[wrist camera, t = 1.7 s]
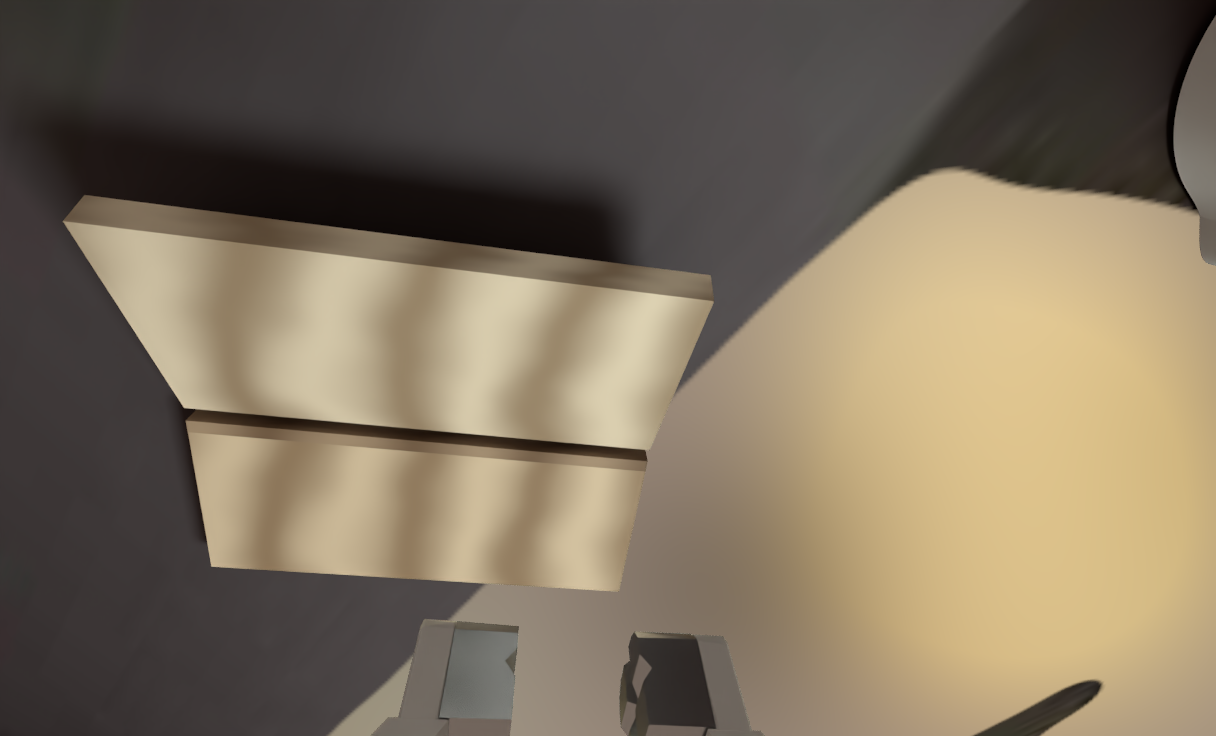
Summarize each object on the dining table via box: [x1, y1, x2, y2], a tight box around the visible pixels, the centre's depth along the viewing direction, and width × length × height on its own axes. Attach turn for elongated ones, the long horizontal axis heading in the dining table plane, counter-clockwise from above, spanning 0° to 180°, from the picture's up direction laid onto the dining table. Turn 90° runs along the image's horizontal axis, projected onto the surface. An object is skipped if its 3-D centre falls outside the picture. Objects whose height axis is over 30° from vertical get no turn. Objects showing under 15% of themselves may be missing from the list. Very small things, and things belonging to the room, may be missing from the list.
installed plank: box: [186, 409, 647, 591], centre depth 37 cm, size 24×10×2 cm, turn 81°
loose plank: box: [63, 195, 714, 450], centre depth 29 cm, size 24×12×2 cm, turn 81°
